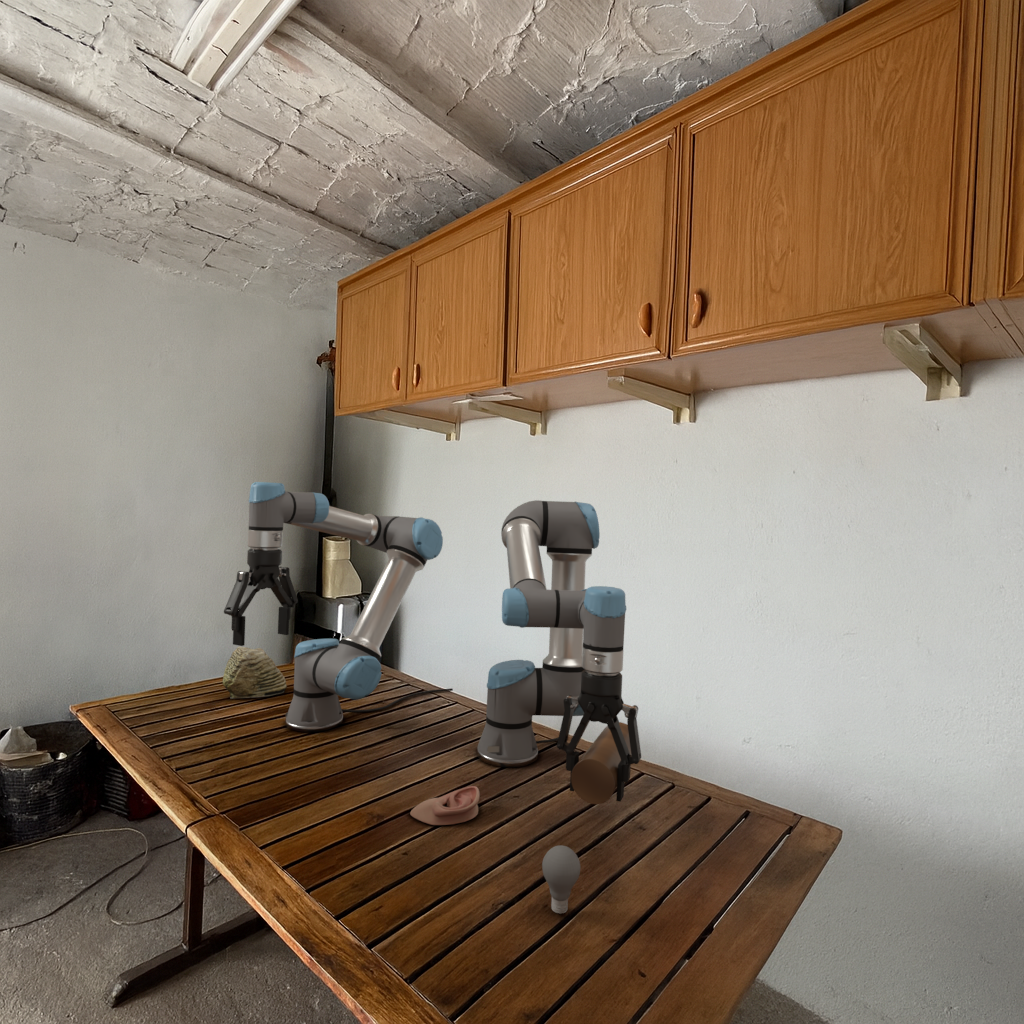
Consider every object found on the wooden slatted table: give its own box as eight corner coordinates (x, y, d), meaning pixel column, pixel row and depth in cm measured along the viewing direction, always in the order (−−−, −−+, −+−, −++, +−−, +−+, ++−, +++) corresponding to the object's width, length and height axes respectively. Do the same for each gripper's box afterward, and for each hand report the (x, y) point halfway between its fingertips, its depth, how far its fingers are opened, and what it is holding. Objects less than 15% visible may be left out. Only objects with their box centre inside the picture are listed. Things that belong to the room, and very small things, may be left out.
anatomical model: (405, 801, 125) (424, 776, 136) (404, 821, 125) (423, 795, 136) (470, 810, 122) (484, 785, 133) (469, 831, 122) (483, 803, 133)
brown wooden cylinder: (600, 756, 136) (602, 718, 136) (638, 763, 133) (639, 725, 133) (569, 799, 116) (571, 755, 116) (613, 809, 113) (615, 763, 113)
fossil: (218, 695, 195) (220, 647, 195) (278, 685, 208) (279, 640, 207) (228, 703, 189) (230, 653, 188) (289, 692, 201) (290, 645, 201)
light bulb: (538, 899, 102) (540, 837, 102) (574, 898, 103) (577, 837, 103) (542, 923, 96) (545, 859, 96) (581, 923, 97) (584, 858, 97)
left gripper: (233, 552, 134) (230, 652, 135) (314, 546, 157) (311, 632, 157) (208, 550, 137) (204, 647, 138) (291, 544, 160) (288, 628, 160)
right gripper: (541, 667, 118) (536, 789, 118) (655, 684, 110) (649, 814, 110) (554, 659, 125) (549, 774, 125) (662, 674, 117) (656, 796, 117)
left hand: (261, 639), depth 148 cm, fingers open, 13 cm apart
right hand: (596, 793), depth 117 cm, fingers closed on brown wooden cylinder, 8 cm apart
